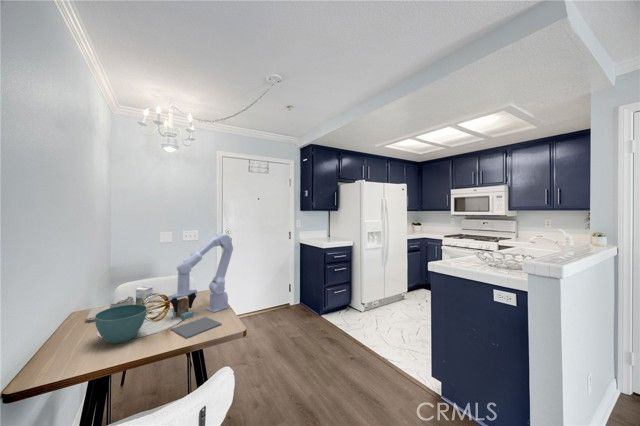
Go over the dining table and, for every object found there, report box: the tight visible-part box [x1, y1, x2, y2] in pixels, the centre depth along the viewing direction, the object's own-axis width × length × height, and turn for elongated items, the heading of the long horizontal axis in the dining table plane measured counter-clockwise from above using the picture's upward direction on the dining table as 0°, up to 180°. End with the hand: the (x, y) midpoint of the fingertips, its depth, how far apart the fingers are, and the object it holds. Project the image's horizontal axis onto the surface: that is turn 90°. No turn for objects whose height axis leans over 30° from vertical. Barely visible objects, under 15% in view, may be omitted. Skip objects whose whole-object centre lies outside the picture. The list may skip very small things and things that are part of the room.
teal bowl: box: [94, 303, 147, 345], centre depth 113 cm, size 18×18×12 cm
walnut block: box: [176, 297, 190, 318], centre depth 139 cm, size 4×4×9 cm
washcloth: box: [85, 305, 110, 324], centre depth 138 cm, size 12×18×3 cm, turn 37°
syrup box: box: [135, 285, 154, 305], centre depth 142 cm, size 6×6×14 cm
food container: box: [109, 296, 135, 308], centre depth 134 cm, size 12×6×10 cm, turn 179°
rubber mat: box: [170, 316, 222, 339], centre depth 126 cm, size 18×14×1 cm
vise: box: [169, 307, 194, 321], centre depth 141 cm, size 5×17×2 cm, turn 56°
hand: (182, 309), depth 139 cm, fingers open, 7 cm apart
